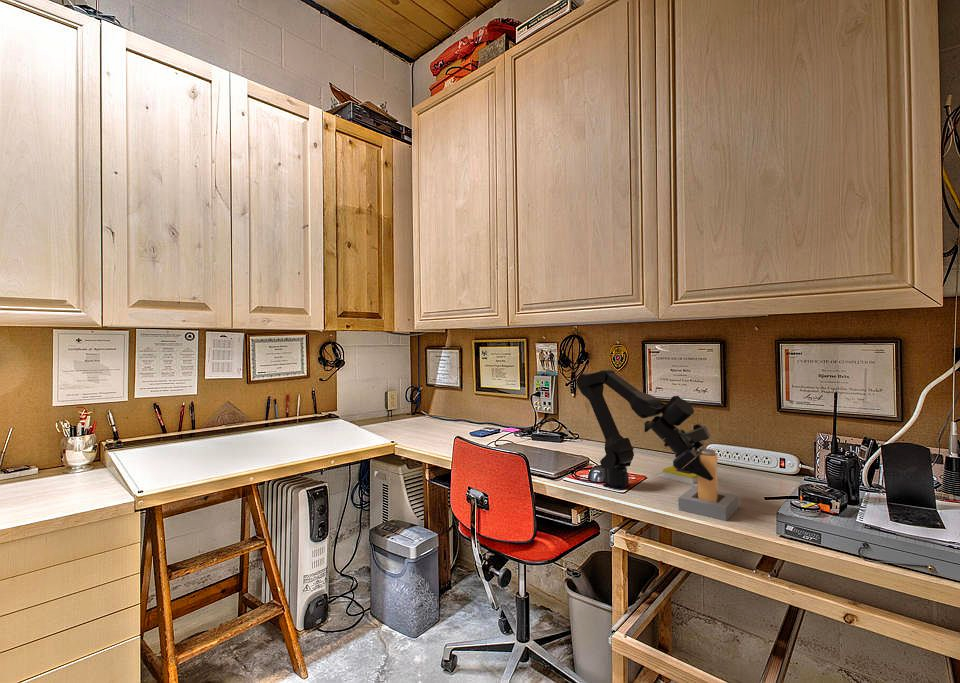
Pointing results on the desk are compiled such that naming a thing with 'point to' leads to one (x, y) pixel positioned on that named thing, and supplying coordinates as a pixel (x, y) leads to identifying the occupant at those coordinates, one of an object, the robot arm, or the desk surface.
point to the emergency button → (679, 475)
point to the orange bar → (706, 487)
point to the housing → (708, 504)
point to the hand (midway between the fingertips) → (713, 477)
